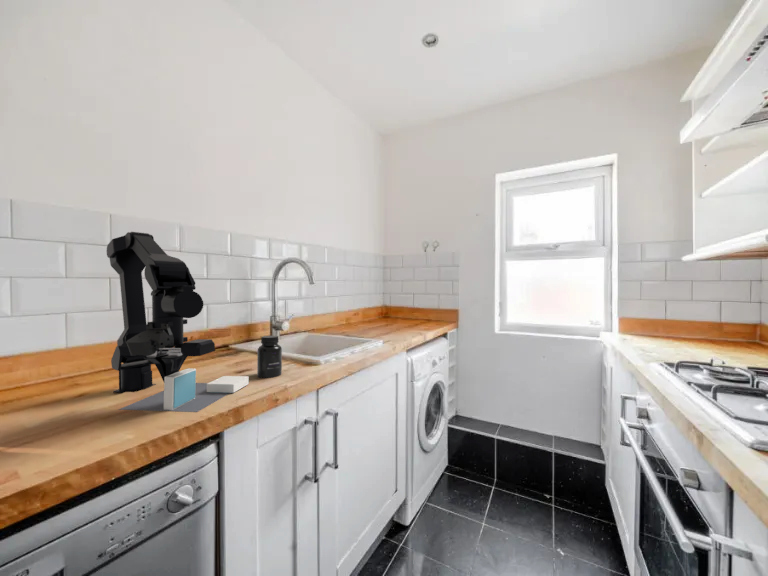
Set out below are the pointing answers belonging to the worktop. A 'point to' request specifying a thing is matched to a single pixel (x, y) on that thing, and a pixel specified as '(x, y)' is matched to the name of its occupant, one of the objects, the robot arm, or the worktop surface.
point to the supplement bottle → (269, 358)
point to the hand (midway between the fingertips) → (168, 385)
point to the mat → (194, 405)
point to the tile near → (179, 388)
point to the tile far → (227, 384)
